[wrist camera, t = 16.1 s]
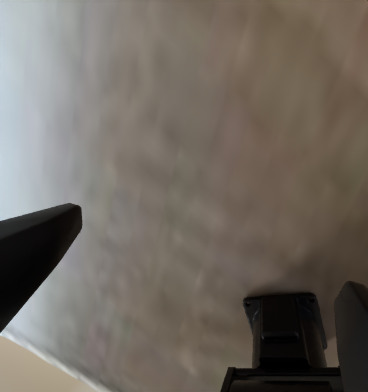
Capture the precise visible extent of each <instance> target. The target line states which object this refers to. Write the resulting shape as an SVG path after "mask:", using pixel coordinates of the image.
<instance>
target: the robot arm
mask: <svg viewBox="0 0 368 392" xmlns="http://www.w3.org/2000/svg"><path fill="white" fill-rule="evenodd" d="M81 229H82V211H81V207H80V206H79V205H75V204H72V203H67V204H63V205H59V206H56V207H52V208H48V209H44V210H40V211H37V212H33V213H29V214H25V215H22V216H18V217H14V218H10V219H6V220H3V221H0V333H1V332H2V330H3V329H4V328H5V327H6V326H7V325H8V323H9V322H10V321H11V320H12V319H13V317H14V316H15V315H16V314H17V313H18V311H19V310H20V309H21V308H22V307H23V305H24V304H25V303H26V302H27V301H28V299H29V298H30V297H31V296H32V295H33V294H34V292H35V291H36V290H37V289H38V288H39V286H40V285H41V284H42V283H43V282H44V280H45V279H46V278H47V277H48V276H49V274H50V273H51V272H52V271H53V270H54V268H55V267H56V266H57V265H58V263H59V262H60V261H61V259H62V258H63V256H64V255H65V253H66V252H67V250H68V249H69V247H70V246H71V244H72V243H73V241H74V240H75V238H76V237H77V235H78V234H79V233H80V231H81ZM310 298H312V299H311V300H310ZM248 303H250V304H248ZM243 306H244V309H245V312H246V315H247V318H248V321H249V324H250V327H251V330H252V333H253V356H252V368H235V367H228V370H227V373H226V376H225V379H224V382H223V385H222V388H221V391H220V392H368V289H367V288H366V287H365V286H364V285H362V284H359V283H356V282H352V281H347V282H346V283H345V284H344V286H343V288H342V289H341V291H340V293H339V294H338V296H337V297H336V300H335V304H334V309H335V324H336V339H337V352H338V359H339V365H340V366H338V367H327V363H326V358H325V354H324V350H325V349H326V348H327V342H326V337H325V333H324V328H323V324H322V319H321V315H320V310H319V306H318V301H317V297H316V295H315V294H313V293H301V294H287V295H274V296H260V297H247V298H244V300H243Z"/></svg>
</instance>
